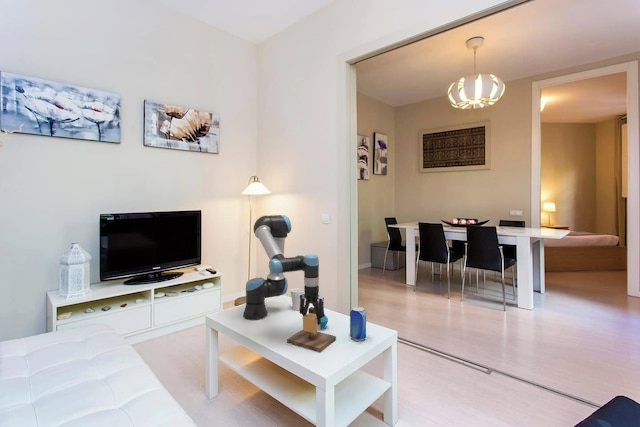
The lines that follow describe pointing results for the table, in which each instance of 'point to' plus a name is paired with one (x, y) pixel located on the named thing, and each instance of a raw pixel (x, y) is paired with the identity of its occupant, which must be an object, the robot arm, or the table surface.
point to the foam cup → (296, 298)
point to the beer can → (358, 324)
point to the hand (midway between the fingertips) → (311, 328)
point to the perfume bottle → (323, 321)
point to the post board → (311, 340)
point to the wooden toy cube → (309, 322)
